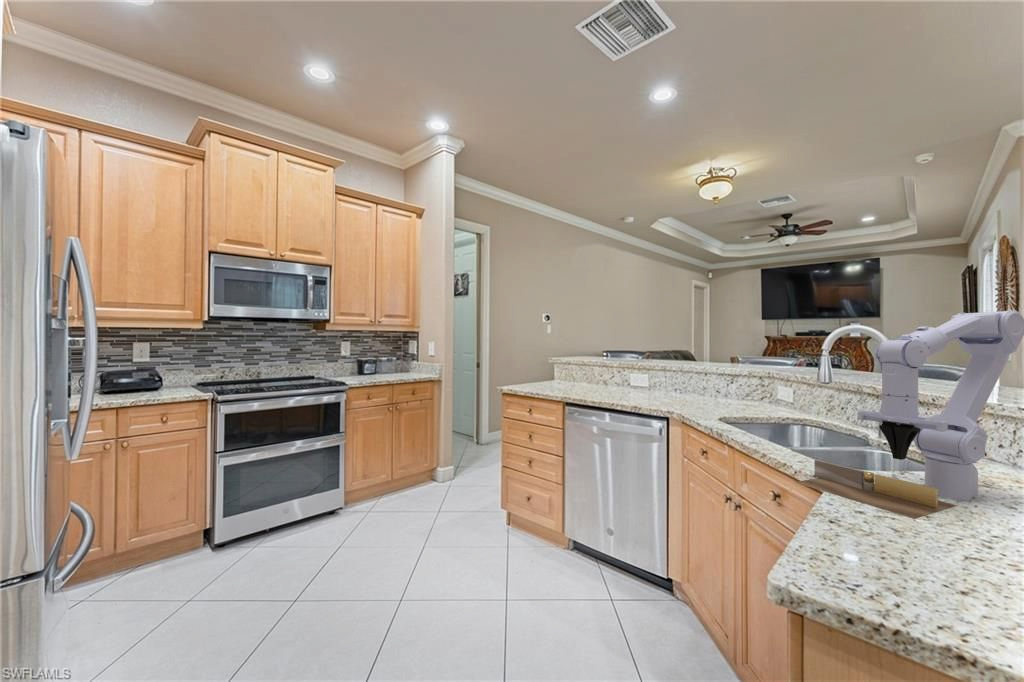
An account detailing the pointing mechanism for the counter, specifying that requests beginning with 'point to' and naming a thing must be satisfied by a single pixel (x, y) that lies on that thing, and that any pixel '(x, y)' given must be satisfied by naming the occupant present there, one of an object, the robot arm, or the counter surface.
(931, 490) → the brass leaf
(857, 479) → the hinge base
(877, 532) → the counter surface
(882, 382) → the robot arm
